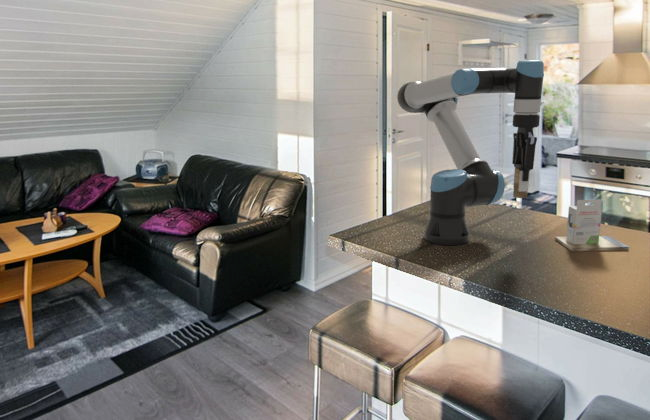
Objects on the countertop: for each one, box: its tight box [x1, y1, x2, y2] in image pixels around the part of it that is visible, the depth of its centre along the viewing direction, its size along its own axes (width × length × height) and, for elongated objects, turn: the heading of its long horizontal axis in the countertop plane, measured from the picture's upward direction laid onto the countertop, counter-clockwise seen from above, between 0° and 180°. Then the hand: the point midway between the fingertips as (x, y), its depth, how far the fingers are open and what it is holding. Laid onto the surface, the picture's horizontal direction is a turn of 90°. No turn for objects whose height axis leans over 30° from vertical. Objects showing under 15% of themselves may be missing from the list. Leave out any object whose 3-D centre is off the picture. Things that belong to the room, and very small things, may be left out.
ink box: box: [565, 198, 603, 244], centre depth 166 cm, size 9×5×15 cm, turn 91°
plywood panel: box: [554, 235, 630, 252], centre depth 168 cm, size 18×12×1 cm, turn 89°
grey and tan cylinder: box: [513, 164, 528, 199], centre depth 161 cm, size 4×4×10 cm
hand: (520, 189), depth 161 cm, fingers closed on grey and tan cylinder, 4 cm apart
